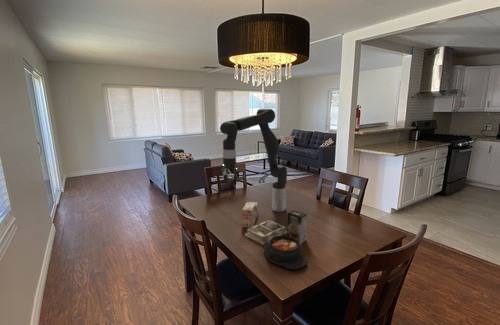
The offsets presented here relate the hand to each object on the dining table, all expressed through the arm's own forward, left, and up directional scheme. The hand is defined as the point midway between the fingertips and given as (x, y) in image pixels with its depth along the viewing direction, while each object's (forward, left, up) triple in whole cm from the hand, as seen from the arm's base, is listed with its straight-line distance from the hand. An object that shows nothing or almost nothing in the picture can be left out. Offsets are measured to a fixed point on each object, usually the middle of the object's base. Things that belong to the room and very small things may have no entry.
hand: (229, 183), depth 152 cm
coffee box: (-19, +36, -30) cm, 50 cm away
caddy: (-11, +20, -29) cm, 37 cm away
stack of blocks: (-17, 0, -30) cm, 34 cm away
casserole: (0, +43, -30) cm, 52 cm away
